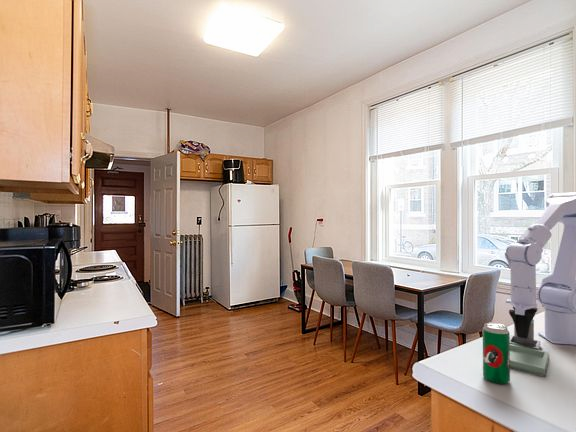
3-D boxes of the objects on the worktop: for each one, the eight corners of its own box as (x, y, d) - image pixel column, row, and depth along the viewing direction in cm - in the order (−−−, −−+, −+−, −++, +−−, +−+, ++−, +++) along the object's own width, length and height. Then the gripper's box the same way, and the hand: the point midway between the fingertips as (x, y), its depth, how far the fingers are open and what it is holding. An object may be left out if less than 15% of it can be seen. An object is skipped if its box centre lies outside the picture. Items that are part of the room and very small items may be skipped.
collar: (511, 340, 95) (511, 335, 95) (540, 346, 90) (540, 341, 90) (507, 347, 90) (507, 341, 90) (537, 354, 85) (537, 348, 85)
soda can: (514, 386, 69) (513, 330, 69) (488, 384, 70) (487, 328, 70) (503, 375, 74) (503, 322, 74) (479, 373, 75) (478, 321, 75)
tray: (493, 346, 90) (493, 340, 90) (548, 359, 82) (548, 352, 82) (483, 361, 81) (483, 353, 81) (544, 376, 73) (544, 368, 73)
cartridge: (528, 341, 92) (528, 316, 92) (537, 347, 87) (537, 321, 87) (511, 340, 92) (511, 315, 92) (518, 346, 88) (518, 320, 88)
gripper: (510, 280, 98) (510, 325, 98) (501, 288, 87) (501, 338, 87) (539, 283, 93) (540, 330, 93) (533, 292, 83) (534, 345, 82)
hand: (523, 335), depth 90 cm, fingers closed on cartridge, 4 cm apart
